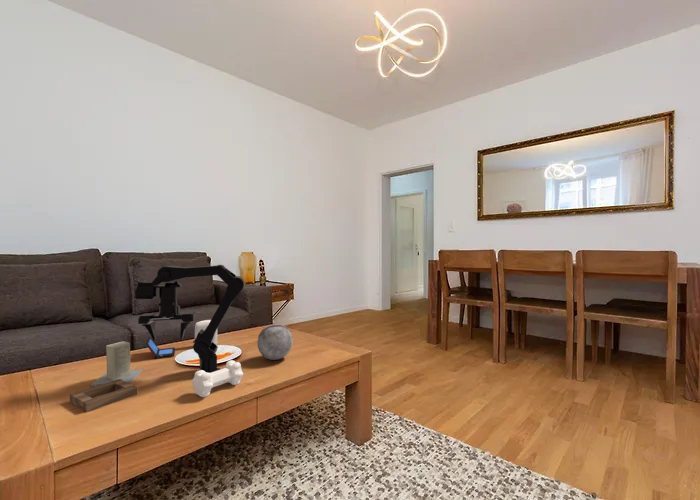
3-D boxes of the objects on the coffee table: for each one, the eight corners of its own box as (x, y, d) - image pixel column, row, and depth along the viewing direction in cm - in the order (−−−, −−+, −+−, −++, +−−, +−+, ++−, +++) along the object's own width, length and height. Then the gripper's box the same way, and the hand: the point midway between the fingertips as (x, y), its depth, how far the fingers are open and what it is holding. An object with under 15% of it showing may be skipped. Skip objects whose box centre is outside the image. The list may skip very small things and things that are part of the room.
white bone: (204, 402, 107) (205, 377, 106) (189, 392, 112) (191, 368, 111) (244, 386, 119) (245, 363, 118) (229, 378, 124) (230, 356, 123)
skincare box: (124, 372, 128) (124, 340, 127) (131, 374, 126) (130, 342, 125) (105, 378, 122) (105, 345, 122) (112, 380, 120) (112, 347, 120)
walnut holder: (137, 394, 111) (137, 386, 111) (86, 412, 99) (86, 403, 99) (119, 386, 117) (119, 378, 117) (69, 402, 105) (69, 394, 105)
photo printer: (216, 342, 168) (216, 318, 168) (218, 345, 165) (218, 319, 165) (193, 346, 163) (193, 320, 162) (195, 348, 159) (195, 322, 159)
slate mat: (142, 370, 131) (142, 369, 131) (129, 383, 119) (129, 381, 119) (107, 373, 128) (107, 371, 128) (90, 386, 117) (90, 384, 117)
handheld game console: (174, 357, 147) (174, 340, 147) (145, 361, 143) (145, 343, 143) (175, 349, 159) (175, 333, 159) (148, 352, 154) (148, 336, 154)
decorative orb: (290, 352, 154) (290, 319, 154) (295, 362, 140) (295, 327, 140) (256, 355, 149) (256, 321, 149) (258, 366, 136) (258, 329, 135)
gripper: (199, 295, 137) (199, 333, 137) (148, 296, 133) (148, 336, 133) (192, 299, 126) (193, 341, 127) (137, 301, 122) (137, 344, 122)
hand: (168, 340), depth 127 cm, fingers open, 9 cm apart
